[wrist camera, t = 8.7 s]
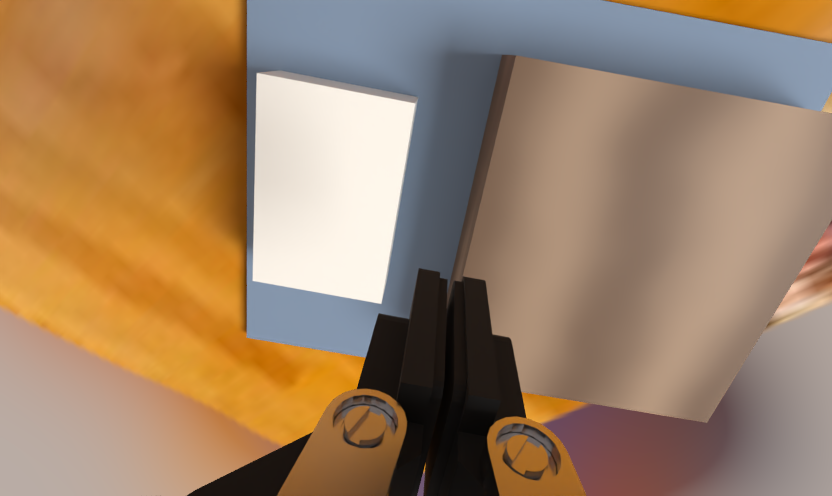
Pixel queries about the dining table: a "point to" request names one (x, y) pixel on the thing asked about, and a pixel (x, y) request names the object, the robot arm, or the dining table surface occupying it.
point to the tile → (327, 183)
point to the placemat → (478, 108)
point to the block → (638, 231)
